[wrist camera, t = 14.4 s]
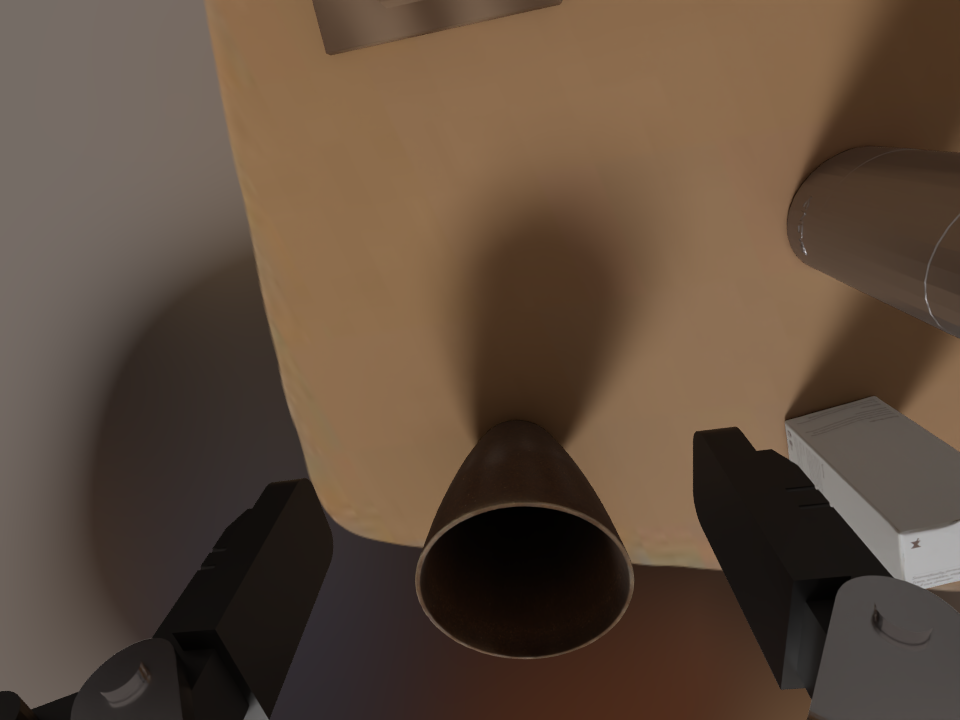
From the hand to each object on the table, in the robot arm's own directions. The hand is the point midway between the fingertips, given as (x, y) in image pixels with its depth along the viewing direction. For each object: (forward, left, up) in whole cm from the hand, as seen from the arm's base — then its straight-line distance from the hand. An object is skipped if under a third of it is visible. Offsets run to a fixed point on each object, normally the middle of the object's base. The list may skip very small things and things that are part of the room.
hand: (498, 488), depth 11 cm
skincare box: (-27, +24, -32) cm, 48 cm away
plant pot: (+2, +22, -32) cm, 39 cm away
